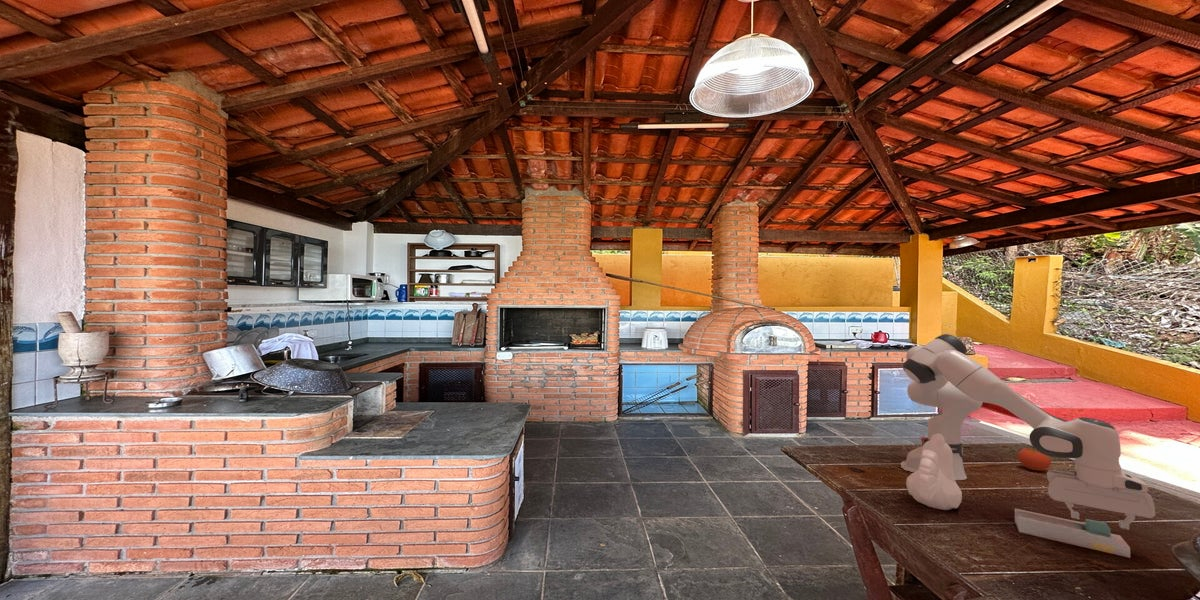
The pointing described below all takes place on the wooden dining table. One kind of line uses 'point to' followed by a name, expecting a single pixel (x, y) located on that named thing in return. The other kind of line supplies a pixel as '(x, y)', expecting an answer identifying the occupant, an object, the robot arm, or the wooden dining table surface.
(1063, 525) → the white long bar
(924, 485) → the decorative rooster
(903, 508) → the wooden dining table surface
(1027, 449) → the tomato
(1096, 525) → the block
